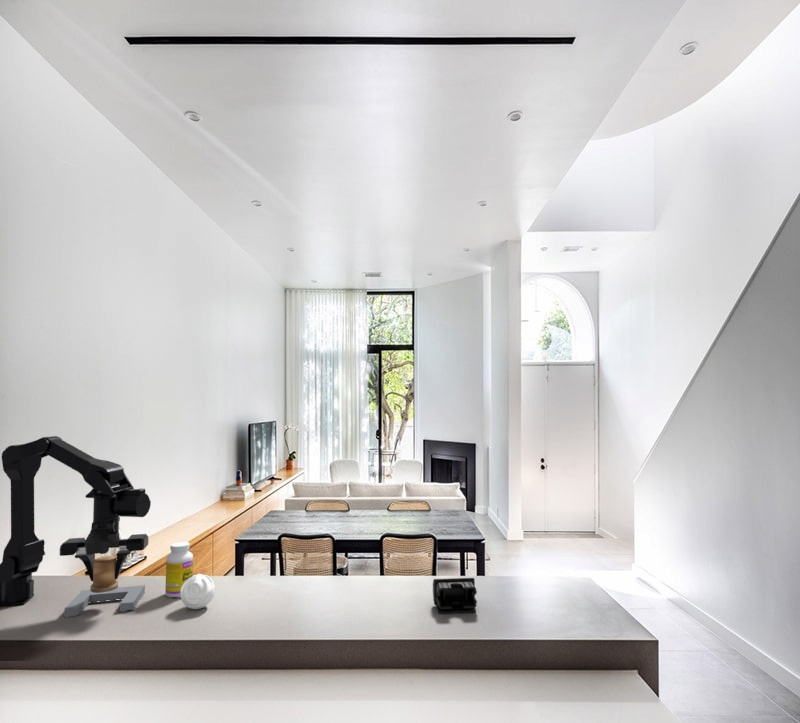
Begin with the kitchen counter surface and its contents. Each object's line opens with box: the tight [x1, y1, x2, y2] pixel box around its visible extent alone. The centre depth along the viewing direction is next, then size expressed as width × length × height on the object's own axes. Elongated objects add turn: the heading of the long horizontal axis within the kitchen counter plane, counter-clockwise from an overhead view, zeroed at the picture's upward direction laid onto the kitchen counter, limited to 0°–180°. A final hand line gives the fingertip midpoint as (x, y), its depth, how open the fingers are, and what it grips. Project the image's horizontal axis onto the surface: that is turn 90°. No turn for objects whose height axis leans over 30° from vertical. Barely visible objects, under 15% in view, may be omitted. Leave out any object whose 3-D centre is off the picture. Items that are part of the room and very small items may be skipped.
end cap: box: [432, 577, 478, 615], centre depth 131 cm, size 10×7×7 cm
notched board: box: [63, 584, 146, 618], centre depth 135 cm, size 15×12×2 cm
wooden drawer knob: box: [89, 555, 119, 593], centre depth 133 cm, size 6×6×7 cm
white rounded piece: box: [179, 573, 215, 610], centre depth 132 cm, size 8×8×8 cm
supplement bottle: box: [164, 541, 194, 598], centre depth 142 cm, size 7×7×13 cm
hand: (104, 579), depth 133 cm, fingers closed on wooden drawer knob, 5 cm apart
